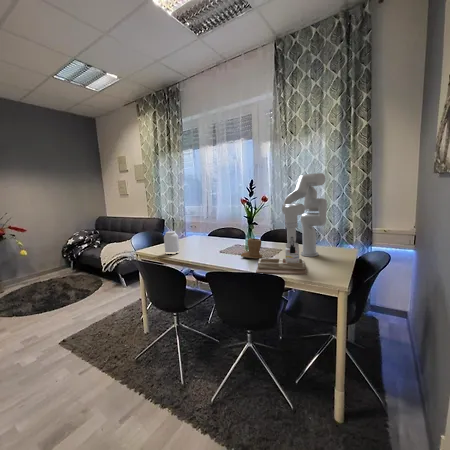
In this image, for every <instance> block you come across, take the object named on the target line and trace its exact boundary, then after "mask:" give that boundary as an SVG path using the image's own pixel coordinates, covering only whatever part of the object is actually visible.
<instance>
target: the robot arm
mask: <svg viewBox="0 0 450 450" xmlns="http://www.w3.org/2000/svg"><path fill="white" fill-rule="evenodd" d="M325 182H326V176H325V174H324V173H322V172H319V173H316V172H315V173H308V174H307V173H306V174H305V173H304V174H301V175H300V176H299V177H298V179H297V183H296V185H295V188H294V191H292V192H291V193H289V194H288V195H287V196H286V197H285V199H284V201H283V204H282V208H281V212H282V214H283V215H284V222H285V223H284V224H285V225H284V226H285V228H286V235H287V236H286V240H287V243H288V244H289V243H290V253H295V243H297V242H296V241H297V231H296V230H297V229H298V216H300V223H301V224H300V225H301V229H302V230H301V231H302V236H301V237H302V251H301V252H300V256H303V257H310V258H311V257H317V256H319V252H317V231H316V229H315V228H314V227H324V226H325V225H326V222H327V213H328V212H327V211H328V203H327V200H326V199H325V198H323V197H320V198H319V197H318V192H317V189H316V188H315V187H319V186H324V184H325ZM303 198H304V202H303V203H294V202H296V201H298V200H301V199H303ZM305 211H306V212H305Z"/></svg>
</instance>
